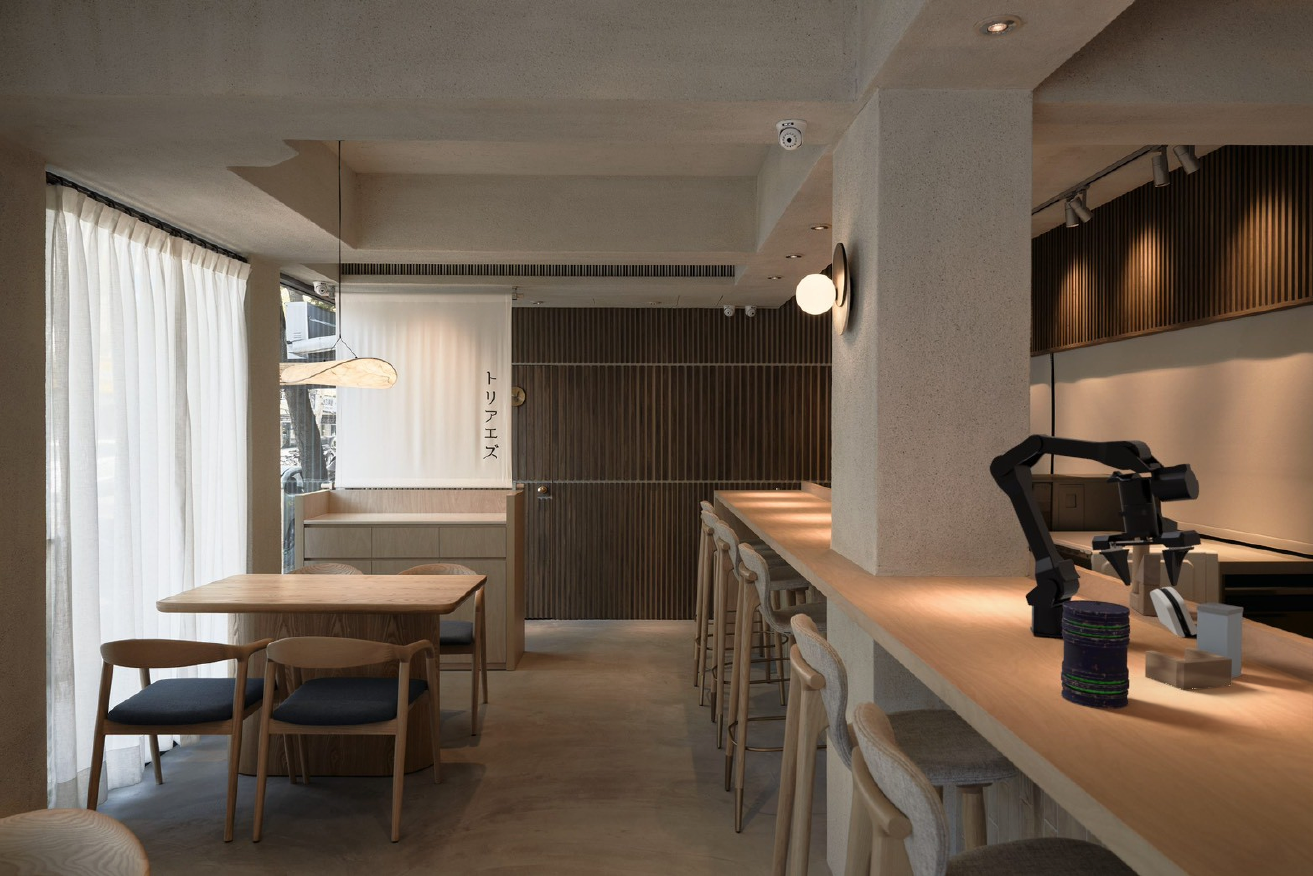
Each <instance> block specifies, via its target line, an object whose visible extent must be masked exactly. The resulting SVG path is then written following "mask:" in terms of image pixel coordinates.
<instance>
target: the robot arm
mask: <svg viewBox="0 0 1313 876" xmlns="http://www.w3.org/2000/svg"><path fill="white" fill-rule="evenodd" d="M1044 455H1055V456H1060V457H1061V456H1062V457H1068V458H1074V459H1075V458H1077V459H1081V460H1082V459H1083V460H1091V461H1095V462H1098V463H1100V464H1101V465H1104V466H1106V467H1110V468H1114V469H1117V470H1114V471H1112V474H1111V475H1110V476H1109V477H1108V478H1107V479H1106V480H1105V483H1106V484H1109V485H1110V484H1117V487H1118V492H1119V498H1120V505H1121V506H1120V507H1121V510H1120V511H1118V512H1117V514H1118V517H1119V518H1123V523H1124V524H1123V526H1124V530H1125V531H1124V532H1121V533H1112V534H1111V533H1109V534H1101V535H1094V536H1093V538H1092V540H1091V549H1092V551H1099V552H1098V554H1099V555H1102V556H1103V557H1104V559H1106V561H1108V563H1109V564H1110V565H1111V567H1112V568H1113V569H1114V571H1115V572H1116V574H1117V575H1118V577H1119V578H1120V579H1121V581H1122V582H1123V584H1124V585H1125V586H1126V587H1130V586H1132V578H1131V573H1130V567H1129V562H1128V561H1129V560H1128V557H1129V553H1130V548H1125V547H1131V546H1132V547H1133V546H1138V545H1150V546H1159V545H1163V546H1164V547H1165V548H1166V549H1161V552H1162V553H1161V554H1162V556H1163V561H1164V565H1165V569H1166V572H1167V576H1168V580H1169V583H1170V586H1171V587H1177V586H1178V581H1179V579H1180V578H1179V577H1180V574H1181V570H1182V569H1181V568H1182V565H1183V562H1184V559H1185V557H1186V556H1187V554H1188V553H1189V552H1190V551H1194V550H1195V546H1198V545H1199V546H1201V545H1202V540H1201V535H1200V534H1199V533H1198V532H1197V531H1196V530H1195V529H1187V530H1178V526H1179V525H1178V524H1179V522H1177V521H1175V520H1173V519H1171V518H1168V517H1165V516H1163V513H1162V511H1161V510H1162V509H1161V508H1160V507H1156V503H1155V498H1157V499H1158V500H1159V501H1160V502H1161V503H1171V502H1182V501H1193V500H1197V499H1198V497H1199V496H1200V485H1199V480H1197V476H1196V474H1195V472H1194V471H1193V470H1192V468H1191V464H1190V463H1181V464H1176V465H1173V466H1164V465H1163V464H1162V463H1161V462H1160V461H1159V460H1158V459H1157V458H1156V457H1155V456H1154V455H1153V454H1152V451H1151V448H1150V446H1148V444H1147V443H1146V442H1145V441H1141V440H1138V439H1137V440H1136V439H1135V440H1111V441H1097V440H1096V441H1094V440H1088V439H1086V440H1084V439H1077V438H1069V437H1062V436H1052V435H1048V434H1047V433H1046V434H1045V433H1044V434H1043V433H1036V434H1030V435H1029V436H1028V437H1027V438H1025V440H1023V441H1022V442H1020V443H1019V444H1017V445H1016V446H1013V447H1012V448H1010V449H1009V450H1007V451H1005V452H1004V454H999V455H997V456H995V457H994V458H993V459H992V460H991V461H990V462H991V463H990V465H989V472H990V475H991V477H992V479H993V480H994V481H995V484H996V485H997V486H998V488H1000V490H1001V491H1002V492H1003V493H1004V494H1005V495H1006V496H1007V497H1008V499H1009V500H1010V503H1011V505H1012V506H1013V510H1014V512H1015V515H1016V517H1017V520H1018V521H1019V524H1020V526H1021V529H1022V532H1023V534H1024V537H1025V539H1026V542H1027V544H1028V547H1029V549H1030V552H1031V554H1032V556H1033V558H1034V578H1035V582H1036V586H1034V588H1032V589H1031V590H1030V591H1028V592H1027V593H1026V594H1025V598H1026V602H1027V606H1030V607H1031V626H1030V627H1029V630H1030V631H1031V633H1032V636H1035V637H1045V636H1049V637H1050V638H1060V637H1062V628H1063V627H1062V619H1063V611H1064V609H1063V603H1064V602H1066V601H1072V598H1073V596H1075V595H1076V594H1077V593H1078V592H1079V589H1080V586H1081V585H1080V580H1079V579H1081V578H1082V577H1081V575H1080V574H1079V573H1078V572H1077V569H1076V567H1075V566H1076V565H1075V563H1074V560H1073V559H1071V558H1070V559H1066V560H1065V559H1064V558H1063V557H1062V556H1061V555H1060V553H1059V552H1058V550H1057V547H1056V545H1055V542H1054V540H1053V537H1052V535H1051V533H1050V530H1049V528H1048V526H1047V523H1046V521H1045V519H1044V516H1043V514H1042V512H1041V509H1040V507H1039V505H1038V502H1037V499H1036V497H1035V494H1034V492H1033V473H1032V468H1033V467H1035V466H1036V465H1037V464H1038V463H1039V462H1040V460H1041V459H1043V457H1044ZM1121 471H1132V472H1128V473H1122V472H1121ZM1142 474H1150V476H1145V477H1143V476H1142ZM1139 537H1140V540H1137V541H1136V540H1135V538H1139ZM1147 537H1148V538H1150V539H1147Z"/></svg>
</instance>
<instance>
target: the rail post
mask: <svg viewBox="0 0 1313 876" xmlns="http://www.w3.org/2000/svg"><path fill="white" fill-rule="evenodd" d="M1196 610H1197V612H1196V613H1197V616H1196V617H1197V620H1196V624H1197V625H1196V626H1197V634H1196V649H1198V650H1202V651H1205V652H1209V653H1212V654H1216V655H1219V656H1222V657H1226V658H1229V659H1232V678H1231V679H1233V678H1236V677H1240V676H1242V651H1243V649H1242V647H1243V646H1242V644H1243V643H1242V642H1243V612H1244V607H1243V606H1236V605H1230V604H1224V603H1219V602H1213V601H1212V602H1207V603H1206V602H1205V603H1201V604H1197V605H1196Z"/></svg>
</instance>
